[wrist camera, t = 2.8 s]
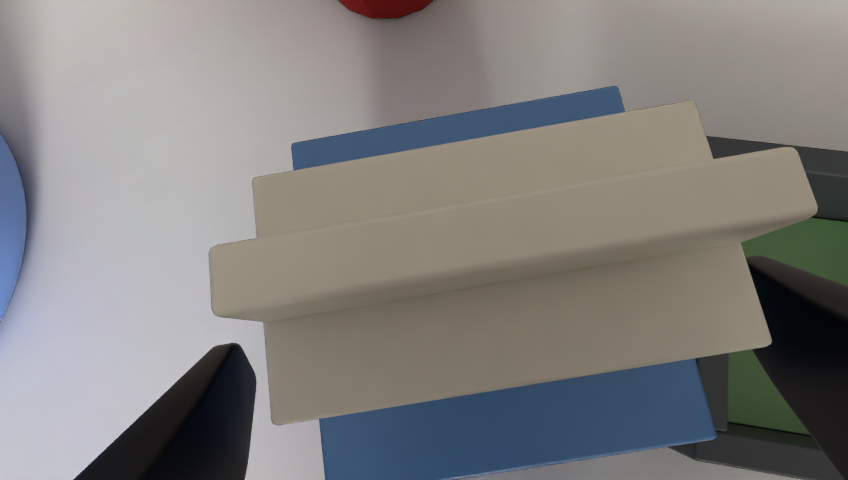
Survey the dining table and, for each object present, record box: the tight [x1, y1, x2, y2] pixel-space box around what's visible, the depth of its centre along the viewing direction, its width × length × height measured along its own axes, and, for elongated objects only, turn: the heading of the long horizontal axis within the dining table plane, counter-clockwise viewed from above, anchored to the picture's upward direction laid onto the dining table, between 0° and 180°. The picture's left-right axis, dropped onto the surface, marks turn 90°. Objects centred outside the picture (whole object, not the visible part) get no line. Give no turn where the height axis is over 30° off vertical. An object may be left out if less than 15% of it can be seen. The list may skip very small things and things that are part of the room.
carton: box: [209, 86, 818, 480], centre depth 10 cm, size 6×6×13 cm
